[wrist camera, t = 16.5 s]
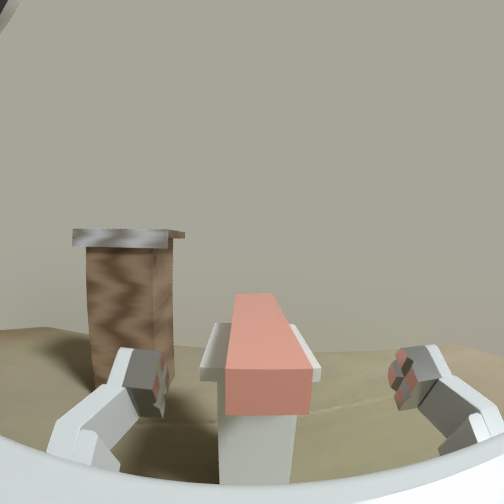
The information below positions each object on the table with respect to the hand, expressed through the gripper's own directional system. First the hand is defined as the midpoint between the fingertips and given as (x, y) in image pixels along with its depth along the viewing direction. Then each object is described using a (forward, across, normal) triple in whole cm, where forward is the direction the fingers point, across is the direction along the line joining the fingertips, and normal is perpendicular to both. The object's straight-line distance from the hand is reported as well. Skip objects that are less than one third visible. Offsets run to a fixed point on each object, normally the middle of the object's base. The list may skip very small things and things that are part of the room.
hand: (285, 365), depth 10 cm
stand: (+4, 0, +25) cm, 25 cm away
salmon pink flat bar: (+11, 0, +11) cm, 15 cm away
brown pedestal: (+22, +18, +35) cm, 45 cm away
